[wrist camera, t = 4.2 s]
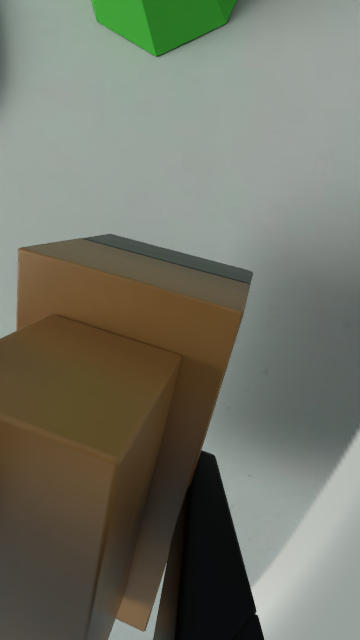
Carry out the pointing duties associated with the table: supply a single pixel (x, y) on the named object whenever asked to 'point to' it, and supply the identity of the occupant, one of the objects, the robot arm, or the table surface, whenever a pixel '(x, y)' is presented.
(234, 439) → the table surface
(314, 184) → the table surface
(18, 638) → the brush
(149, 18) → the gemstone
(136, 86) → the table surface
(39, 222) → the table surface
